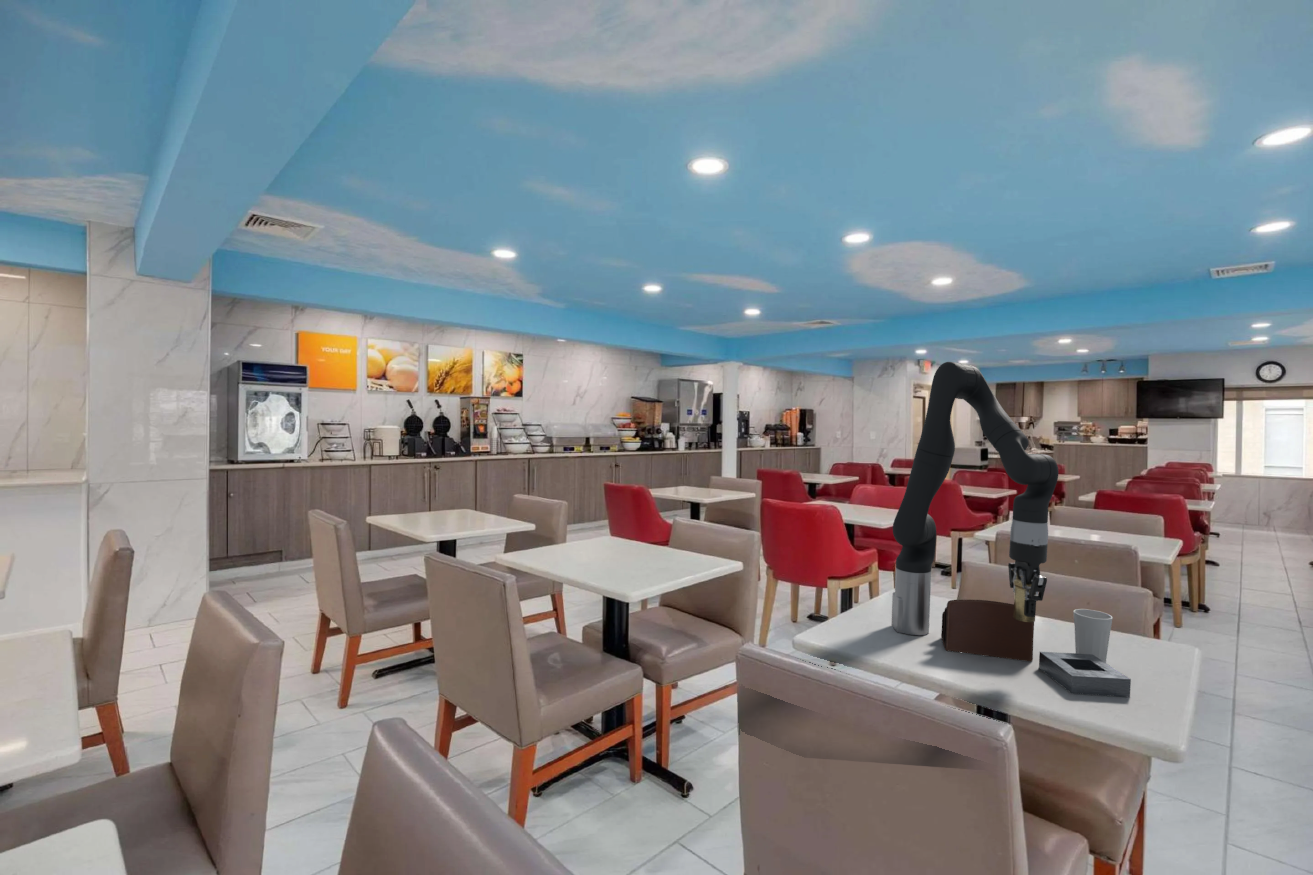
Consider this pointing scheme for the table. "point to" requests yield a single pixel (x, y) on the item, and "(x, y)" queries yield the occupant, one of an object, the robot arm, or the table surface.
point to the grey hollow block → (1084, 674)
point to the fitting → (1020, 603)
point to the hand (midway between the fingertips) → (1024, 612)
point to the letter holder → (986, 630)
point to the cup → (1092, 632)
